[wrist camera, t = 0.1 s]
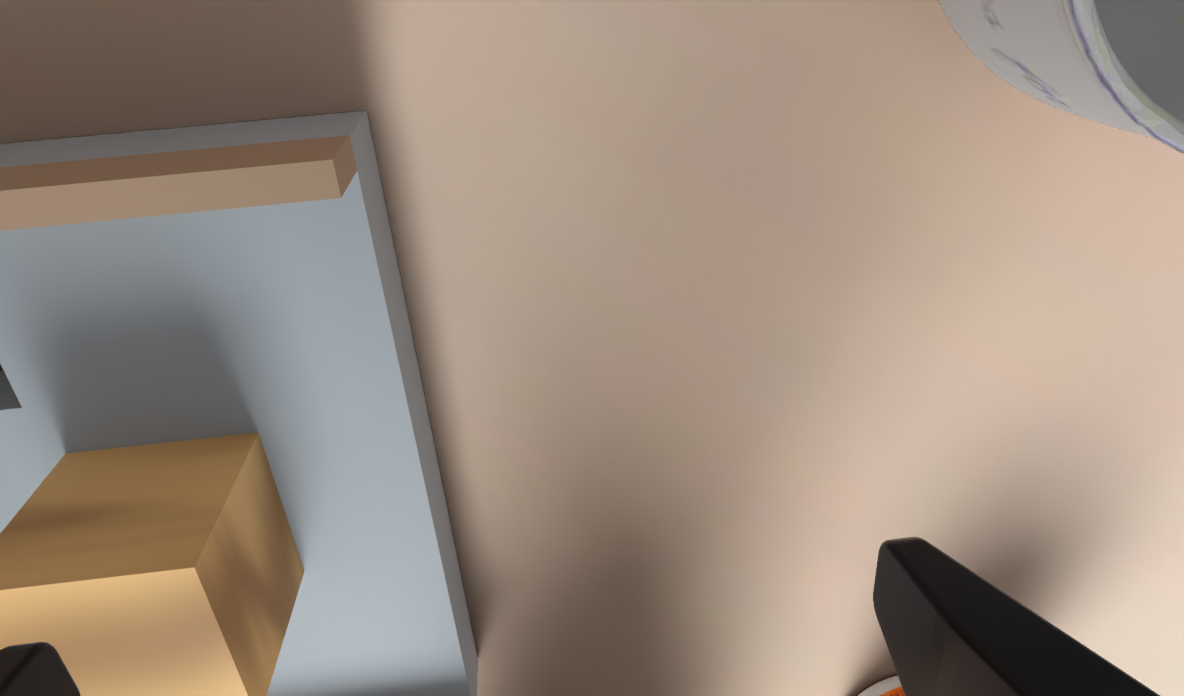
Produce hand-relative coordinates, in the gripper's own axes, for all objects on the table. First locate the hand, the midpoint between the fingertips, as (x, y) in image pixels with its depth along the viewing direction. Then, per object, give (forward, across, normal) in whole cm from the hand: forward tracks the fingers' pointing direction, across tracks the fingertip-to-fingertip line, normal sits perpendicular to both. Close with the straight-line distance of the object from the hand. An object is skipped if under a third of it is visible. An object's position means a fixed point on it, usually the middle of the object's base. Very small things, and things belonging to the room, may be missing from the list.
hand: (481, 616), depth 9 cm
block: (+12, +9, +7) cm, 17 cm away
